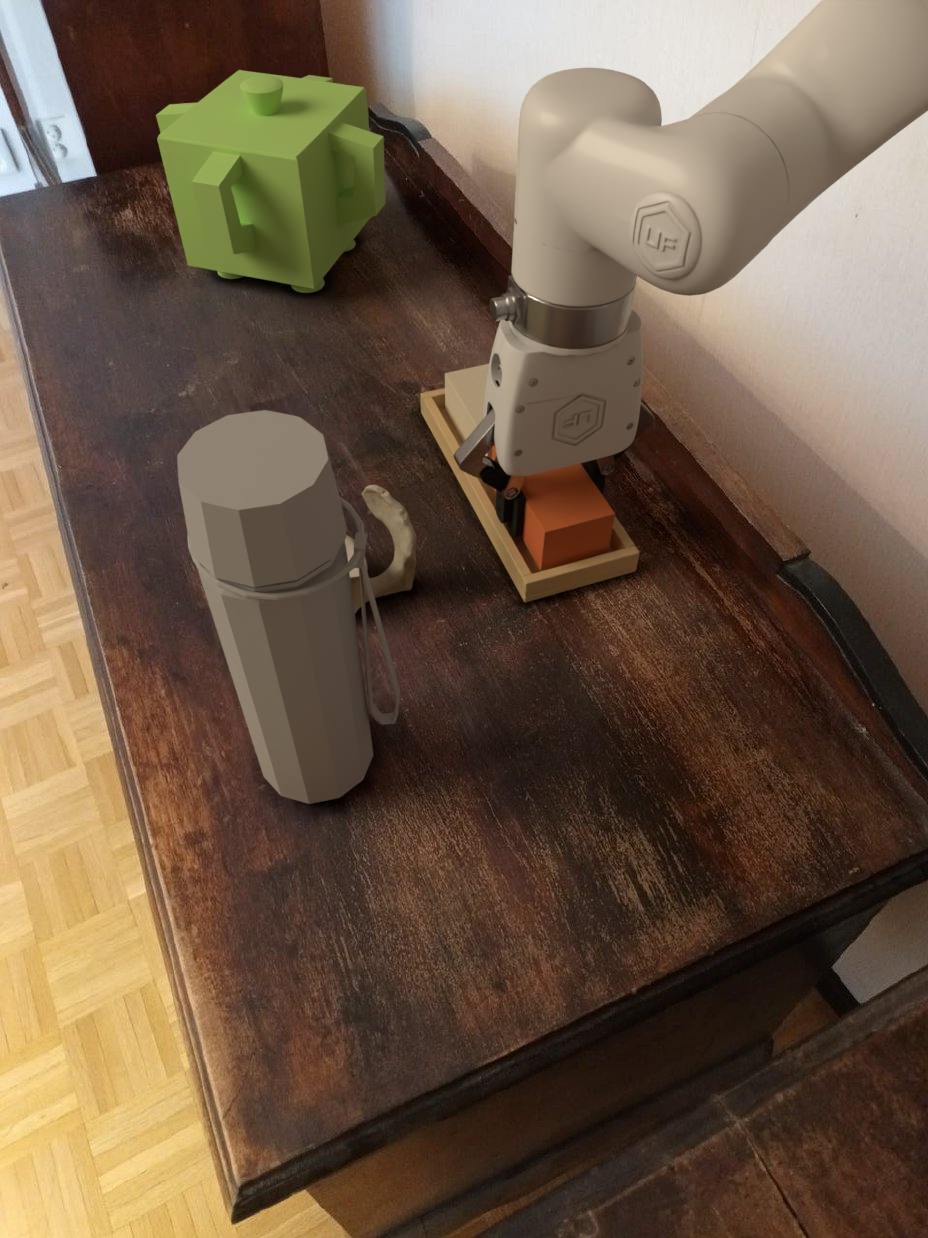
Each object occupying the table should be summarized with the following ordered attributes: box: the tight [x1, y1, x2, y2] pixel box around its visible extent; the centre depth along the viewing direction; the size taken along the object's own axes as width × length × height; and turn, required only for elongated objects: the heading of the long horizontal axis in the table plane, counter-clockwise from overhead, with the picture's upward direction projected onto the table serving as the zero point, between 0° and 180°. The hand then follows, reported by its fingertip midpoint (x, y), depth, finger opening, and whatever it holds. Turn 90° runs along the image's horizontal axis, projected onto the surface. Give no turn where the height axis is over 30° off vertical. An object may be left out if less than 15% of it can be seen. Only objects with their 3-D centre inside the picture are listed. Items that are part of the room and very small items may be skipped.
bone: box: [345, 484, 417, 614], centre depth 65 cm, size 9×6×10 cm
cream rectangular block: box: [444, 363, 495, 459], centre depth 77 cm, size 10×6×4 cm, turn 20°
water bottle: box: [176, 409, 401, 805], centre depth 49 cm, size 9×8×25 cm
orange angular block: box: [492, 445, 616, 571], centre depth 69 cm, size 10×6×4 cm, turn 20°
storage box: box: [155, 69, 387, 294], centre depth 91 cm, size 25×23×17 cm
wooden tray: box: [419, 387, 640, 603], centre depth 74 cm, size 24×9×2 cm, turn 20°
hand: (548, 512), depth 71 cm, fingers closed on orange angular block, 5 cm apart
